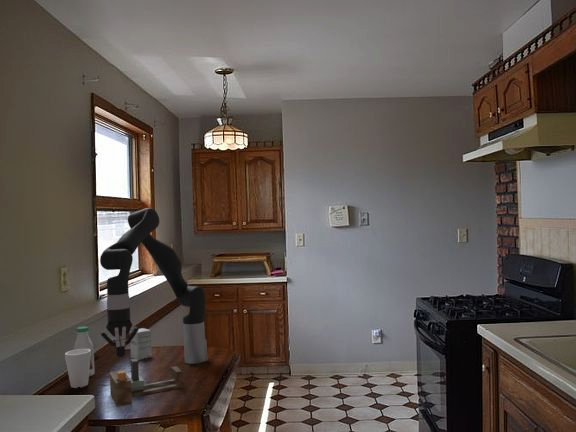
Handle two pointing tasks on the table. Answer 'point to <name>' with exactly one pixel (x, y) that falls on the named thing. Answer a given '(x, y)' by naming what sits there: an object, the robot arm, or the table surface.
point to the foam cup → (78, 367)
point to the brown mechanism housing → (123, 388)
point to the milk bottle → (85, 345)
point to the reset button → (121, 376)
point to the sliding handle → (136, 377)
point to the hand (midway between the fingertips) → (120, 356)
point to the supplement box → (141, 344)
